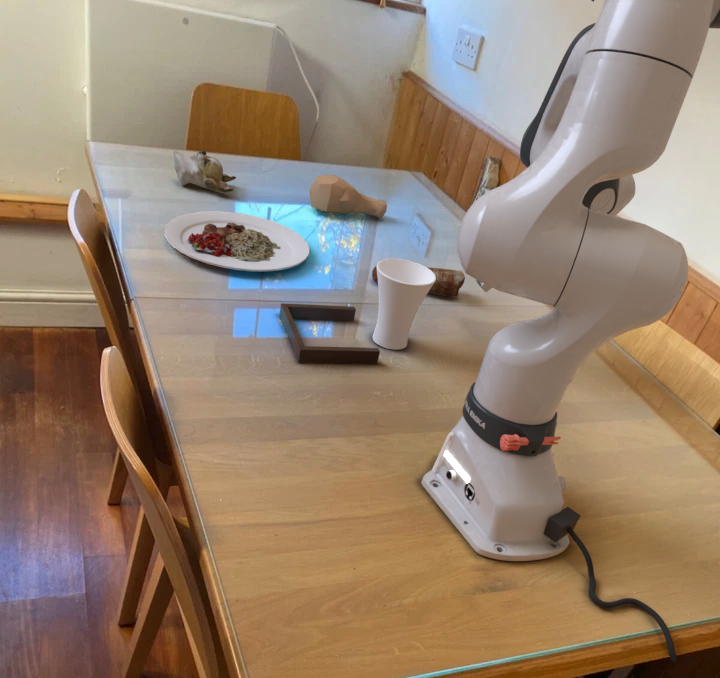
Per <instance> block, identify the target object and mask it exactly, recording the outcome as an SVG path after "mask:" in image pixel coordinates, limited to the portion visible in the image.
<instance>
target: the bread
mask: <svg viewBox="0 0 720 678" xmlns="http://www.w3.org/2000/svg"><path fill="white" fill-rule="evenodd" d="M376 266H377V264H376V265H375V266H374V267H373V269H372V272H371V278H372V281H374V283H377V284H378V277H377V267H376ZM426 267H427V266H426ZM427 268H428V269H430V270H431V271H432V272H433V273H434V274H435V276H436V281H435V282H434V284H433V285H432V287H431V289H430V290H429V292H428V293H429V294H433V295H438V296H443V297H458V296H459V292H460V289H461V288H462V286H463V285H464V283H465V280H466V277H465V274H464V272H463V271H462V270H457V269H448V268H442V267H440V268H438V267H429V266H428V267H427Z"/></svg>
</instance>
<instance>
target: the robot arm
mask: <svg viewBox="0 0 720 678" xmlns="http://www.w3.org/2000/svg"><path fill="white" fill-rule="evenodd" d="M590 1H592V2H593V3H594V2H595V0H590ZM709 29H716V30H717V29H720V0H604V1H603V4H602V7H601V10H600V13H599V16H598V18H597V21H596V22H594V23H591V24H589V25H587V26H586V27H584V28H583V29H582V30H580V31H579V32H578V33H577V34H576V36H575V37H574V38H573V39H572V41H571V43H570V44H569V46H568V47H567V49H566V51H565V53H564V54H563V56H562V59H561V61H560V63H559V65H558V67H557V70H556V72H555V74H554V76H553V78H552V80H551V83H550V85H549V87H548V89H547V92H546V93H545V96H544V98H543V101H542V102H541V105H540V107H539V108H538V111H537V113H536V115H535V116H534V118H533V119H532V121H531V122H530V123H529V125H528V126H527V127H526V129H525V131H524V133H523V135H522V139H521V142H520V147H519V148H520V149H519V158H520V161H521V164H523V165H524V166H525V167H526V168H525V170H523V171H522V172H520V173H519V174H518V175H517V176H515V177H514V178H512V179H511V180H509V181H508V182H505V183H503V184H501V185H499V186H497V187H495V188H492V189H490V190H488V191H487V192H485V193H484V194H482V195H481V196H479V197H478V198H477V199H476V200H475V201H474V202H473V203H472V204H471V205H470V207H468V209H467V210H466V212H465V214H464V216H463V218H462V220H461V222H460V225H459V229H458V232H457V239H456V240H457V241H456V242H457V243H456V246H457V247H456V248H457V255H458V259H459V263H460V265H461V268H462V270H464V273H465V274H466V275H468V276H469V277H471V278H473V279H475V282H476V283H477V285H478V286H479V287H480V288H481V289H482V290H483V291H484V292H485V293H487V292H488V291H490V290H491V289H494V290H496V291H498V292H502V293H505V294H509V295H513V296H516V297H520V298H522V299H526V300H529V301H534V302H537V303H539V304H543V305H547V306H551V307H552V308H553V309H551V310H550V311H549V312H548V313H545V314H544V315H542V316H539V317H536V318H532V319H527V320H526V319H525V320H520V321H516V322H512V323H510V324H507V325H506V326H504V327H503V328H501V329H500V330H498V331H497V332H496V333H495V334H494V335H493V336H492V337H491V338H490V340H489V342H488V345H487V348H486V351H485V354H484V356H483V359H482V362H481V365H480V368H479V371H478V373H477V377H476V380H475V381H474V382H473V383H472V384H471V386H470V388H469V390H468V392H467V393H466V396H465V399H464V404H463V406H462V416H461V417H460V419H459V420H458V422H457V423H456V424H455V426H454V427H453V428H452V429H451V430H450V431H449V433H448V434H447V436H446V438H445V440H444V442H443V445H442V447H441V449H440V451H439V453H438V456H437V457H436V459H435V462H434V464H433V467H432V468H431V469H430V470H429V471H428V472H426V473H425V474H424V475H423V477H422V479H421V481H420V482H421V485H422V487H423V488H424V489H425V491H426V492H427V493H428V494H429V496H430V497H431V499H432V500H433V501H434V502H435V503H436V504H437V506H438V507H439V509H441V511H442V512H443V513H444V514H445V515H446V517H447V518H448V520H449V521H450V522H451V523H452V524H453V526H454V527H455V528H456V530H458V532H459V533H460V534H461V536H462V537H463V538H464V539H465V540H466V542H467V543H468V544H469V545H470V547H471V548H472V549H473V550H474V551H475V552H476V553H477V554H478V555H479V556H483V557H485V558H488V559H494V560H497V561H498V560H499V561H503V562H505V561H506V562H528V561H529V562H530V561H538V560H544V559H549V558H552V557H555V556H558V555H560V554H561V553H563V552H564V551H566V549H568V547H569V545H570V538H569V536H570V537H571V539H572V540H573V542H575V544H576V545H577V546H578V548H579V549H580V551H581V553H582V555H583V557H584V559H585V562H586V567H587V573H588V574H587V575H588V578H589V587H588V595H589V599H590V600H591V601H592V602H593V603H594V604H596V605H597V606H599V607H602V608H605V609H612V608H617V607H622V606H624V605H633V606H636V607H638V608H640V609H641V610H643V611H644V612H646V613H647V614H648V615H650V616H651V617H652V618H653V619H654V620H655V621H656V623H657V624H658V626H659V628H660V630H661V632H662V634H663V636H664V640H665V643H666V646H667V650H668V654H669V659H671V661H672V662H673V663H677V662H678V657H677V652H676V648H675V645H674V642H673V641H674V640H673V638H672V635H671V632H670V630H669V628H668V626H667V624H666V622H665V620H664V619H663V618H662V617H661V616H660V614H658V613H657V612H656V611H655V610H654V609H653V608H652V607H650V606H649V605H647V604H646V603H644V602H643V601H640V600H638V599H636V598H632V597H626V598H621V599H617V600H614V601H604V600H601V599H600V598H599V597H598V596H597V595H596V587H597V583H596V576H595V571H594V563H593V559H592V557H591V555H590V554H591V553H590V552H589V550H588V549H587V547H586V545H585V544H584V542H583V541H582V540H581V538H580V537H579V536H578V535H577V533H576V532H575V531H574V529H575V527H576V525H577V523H578V521H579V520H580V518H581V515H580V514H579V513H578V512H576V511H575V510H574V509H572V508H571V507H570V506H566V507H564V504H565V500H564V496H563V492H564V491H565V490H566V485H567V481H566V478H565V477H564V476H562V475H559V474H558V470H557V466H556V461H555V458H554V457H555V455H554V452H553V448H552V447H553V446H555V445H559V442H557V441H559V440H561V439H562V437H561V436H556V435H555V434H556V430H557V426H558V425H557V424H558V422H557V421H558V409H559V407H560V404H561V402H562V400H563V398H564V397H565V394H566V392H567V390H568V388H569V387H570V384H571V383H572V381H573V379H574V378H575V375H576V374H577V372H578V371H579V369H580V368H581V366H582V365H583V364H584V362H586V361H587V359H588V358H590V357H591V356H592V354H594V353H595V352H596V351H598V350H599V349H600V348H602V347H603V346H604V345H606V344H607V343H609V342H610V341H612V340H613V339H615V338H617V337H619V336H621V335H623V334H625V333H626V334H627V333H628V332H631V331H633V330H636V329H640V328H643V327H648V326H651V325H653V324H654V323H657V322H658V321H660V320H661V319H662V318H664V317H665V316H667V315H668V314H669V313H670V312H671V311H672V310H673V309H674V307H675V306H676V305H677V304H678V303H679V301H680V299H681V297H682V295H683V293H684V291H685V289H686V285H687V283H688V276H689V261H688V256H687V252H686V250H685V247H684V246H683V244H682V243H681V242H680V241H678V240H676V239H674V238H673V237H672V236H669V235H667V234H665V233H664V232H662V231H660V230H657V229H656V228H653V226H652V227H651V226H649V225H647V224H645V223H642V222H638V221H636V220H631V219H627V218H624V217H621V216H617V215H618V214H620V213H621V211H623V210H624V209H625V207H626V206H628V204H629V203H630V202H631V201H632V200H633V199H634V197H635V195H636V181H635V178H634V176H633V175H636V174H639V173H641V172H644V171H646V170H647V169H649V168H650V167H652V166H654V165H655V163H657V161H658V160H659V159H660V158H661V156H662V155H663V154H664V153H665V150H666V147H667V146H668V143H669V140H670V138H671V135H672V133H673V130H674V128H675V125H676V123H677V120H678V117H679V114H680V112H681V109H682V107H683V104H684V102H685V99H686V97H687V94H688V91H689V88H690V86H691V83H692V81H693V78H694V77H695V73H696V71H697V67H698V65H699V63H700V59H701V56H702V52H703V50H704V47H705V44H706V41H707V36H708V34H709ZM568 535H569V536H568Z"/></svg>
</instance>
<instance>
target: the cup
mask: <svg viewBox="0 0 720 678" xmlns="http://www.w3.org/2000/svg"><path fill="white" fill-rule="evenodd" d="M376 265H377V266H376ZM376 265H375V266H376V267H377V277H378V283H377V288H378V313H377V320H376V324H375V328H374V331H373V334H372V341H373V342H374V343H375V344H377V345H378V346H380V347H381V348H385V349H388V350H393V351H394V350H397V351H398V350H403V349H405V348H406V347H407V346H408V341H409V333H410V330H411V328H412V325H413V322H414V320H415V316H416V314H417V312H418V310H419V308H420V306H421V305H422V303H423V301H424V300H425V298H426V297H427V295H428V293H429V290H430V289H431V287H432V285H433V284H434V282H435V281H436V276H435V274H434V273H433V272H432V271H431V270H430V269H428V268H429V267H428V268H427V266H425V265H423V264H421V263H418V262H416V261H414V260H413V261H412V260H409V259H402V258H384V259H381V260H379V261H378V262H376Z"/></svg>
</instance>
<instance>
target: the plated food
mask: <svg viewBox="0 0 720 678" xmlns="http://www.w3.org/2000/svg"><path fill="white" fill-rule="evenodd" d="M164 237H165V238H166V239H165V240H166V241H167V242H168V243H169V244H170V245H171V247H172V248H173V249H176V250H177V251H178V252H179V253H182V254H183V255H185V256H188V258H191V259H194V260H195V261H198V262H202V263H204V264H207V265H210V266H211V265H212V266H215V267H218V268H224V269H229V270H235V271H245V272H275V271H282V270H287V269H292V268H295V267H298V266H299V265H301V264H302V263H304V262H306V260H307V259H308V258H309V255H310V247H309V243H308V242H307V241H306V240H305V238H304V237H303V236H302V235H301V234H299V233H298V232H297V231H294V230H293V229H291V228H290V227H288V226H285V225H283V224H281V223H279V222H277V221H274V220H271V219H267V218H264V217H261V216H256V215H253V214H246V213H241V212H234V211H233V212H232V211H223V210H221V211H219V210H205V211H204V210H203V211H202V210H201V211H194V212H188V213H184V214H180V215H178V216H176V217H173V218H172V219H170V220H169V221H168V222H167V223H166V224H165V226H164Z"/></svg>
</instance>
